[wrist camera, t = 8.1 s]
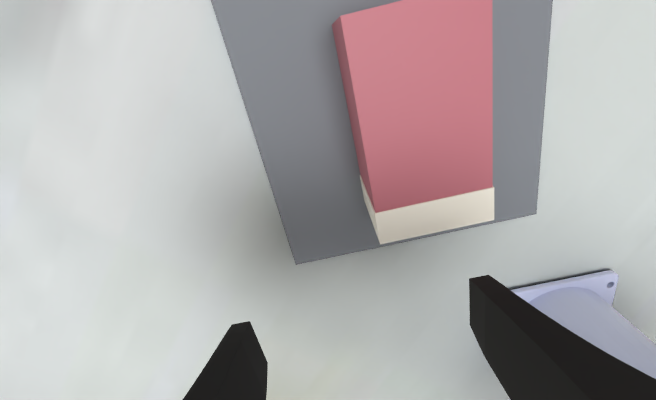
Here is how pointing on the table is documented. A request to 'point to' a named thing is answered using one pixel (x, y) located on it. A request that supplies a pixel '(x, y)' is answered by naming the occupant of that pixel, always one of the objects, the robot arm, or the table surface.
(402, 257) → the table surface
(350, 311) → the table surface
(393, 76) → the pink and white block
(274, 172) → the desk mat
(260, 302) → the table surface
